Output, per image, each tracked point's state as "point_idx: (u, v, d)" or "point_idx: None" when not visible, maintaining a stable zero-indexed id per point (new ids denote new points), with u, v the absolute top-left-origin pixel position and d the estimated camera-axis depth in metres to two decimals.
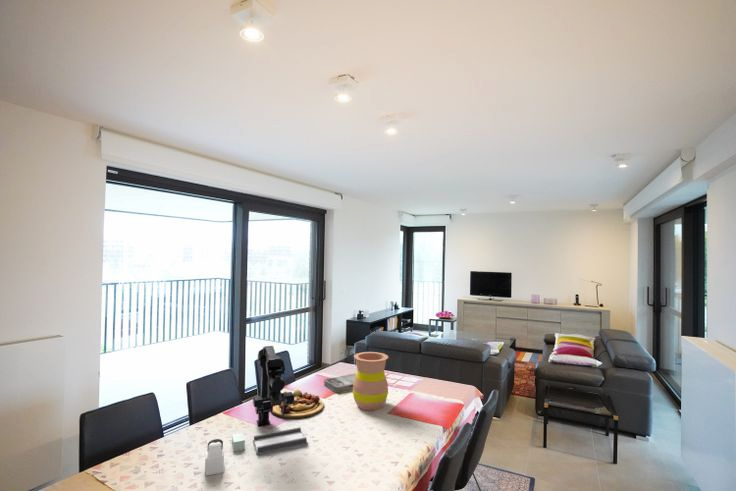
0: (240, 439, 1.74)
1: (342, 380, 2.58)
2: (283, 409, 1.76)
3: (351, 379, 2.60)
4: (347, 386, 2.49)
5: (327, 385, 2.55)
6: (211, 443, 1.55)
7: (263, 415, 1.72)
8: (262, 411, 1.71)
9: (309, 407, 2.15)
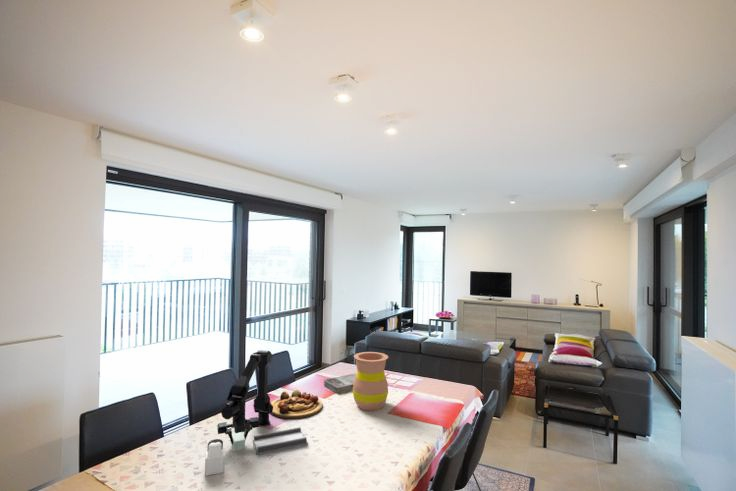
0: (240, 439, 1.74)
1: (342, 380, 2.58)
2: (244, 435, 1.76)
3: (351, 379, 2.60)
4: (347, 386, 2.49)
5: (327, 385, 2.54)
6: (211, 443, 1.55)
7: (232, 440, 1.73)
8: (230, 437, 1.73)
9: (308, 407, 2.15)
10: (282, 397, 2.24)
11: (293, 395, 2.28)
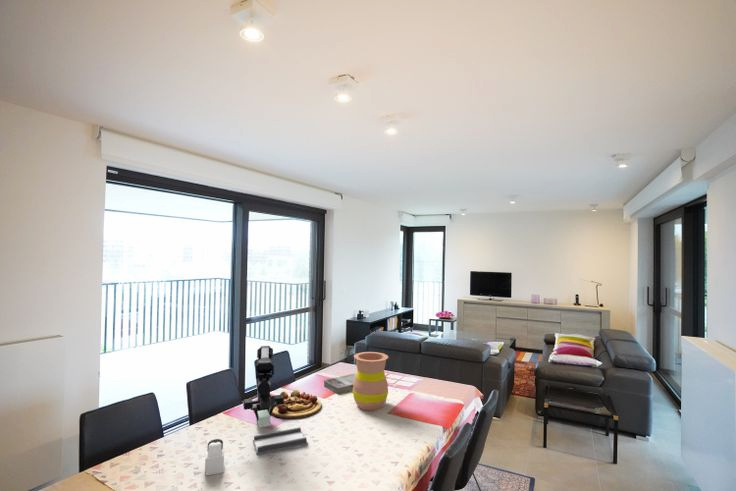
0: (265, 415, 1.76)
1: (342, 380, 2.58)
2: (269, 412, 1.78)
3: (351, 379, 2.60)
4: (348, 386, 2.48)
5: (327, 385, 2.54)
6: (211, 443, 1.55)
7: (257, 417, 1.76)
8: (256, 413, 1.75)
9: (306, 407, 2.15)
10: None
11: (292, 395, 2.28)
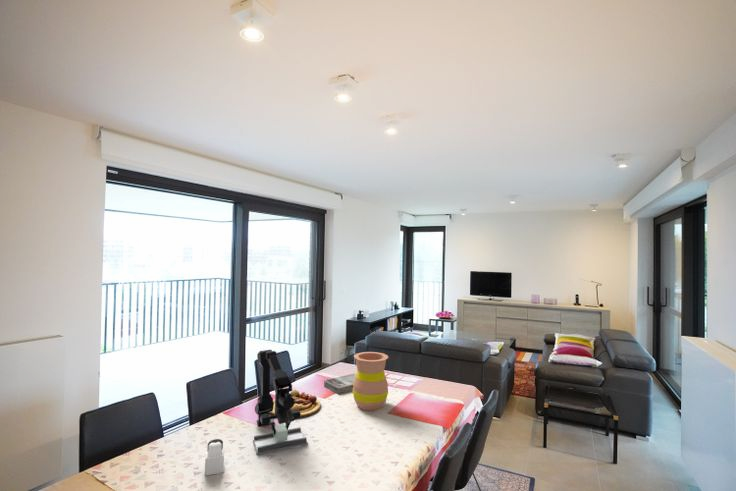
0: (283, 429, 1.77)
1: (342, 380, 2.57)
2: (286, 426, 1.80)
3: (351, 379, 2.59)
4: (348, 386, 2.48)
5: (327, 385, 2.53)
6: (211, 443, 1.55)
7: (274, 431, 1.77)
8: (273, 427, 1.77)
9: (306, 407, 2.15)
10: None
11: (291, 395, 2.28)
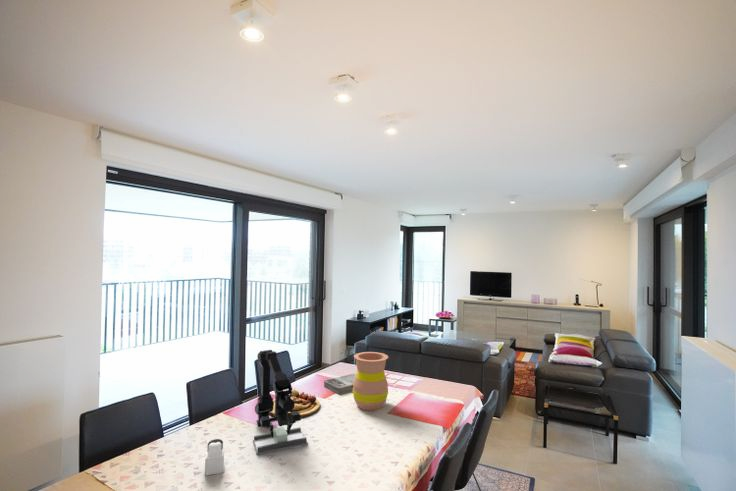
0: (283, 433, 1.77)
1: (342, 380, 2.57)
2: (288, 428, 1.80)
3: (351, 380, 2.59)
4: (348, 387, 2.48)
5: (327, 386, 2.53)
6: (211, 443, 1.55)
7: (272, 434, 1.77)
8: (271, 430, 1.76)
9: (305, 407, 2.15)
10: None
11: (291, 395, 2.28)
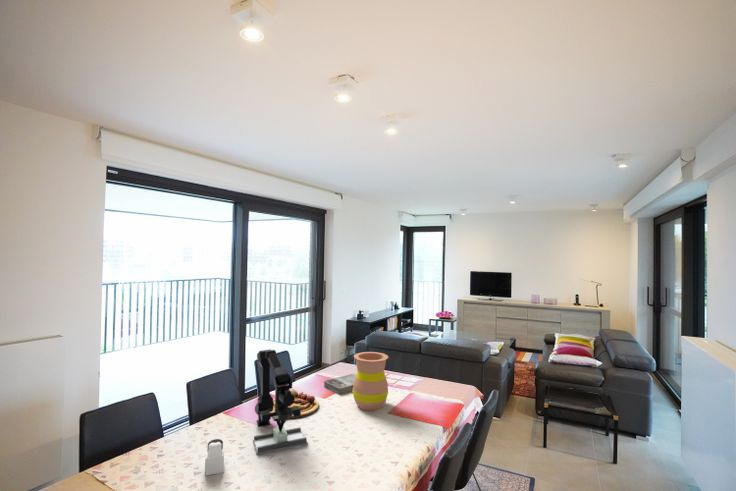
0: (283, 433, 1.77)
1: (342, 381, 2.57)
2: (281, 425, 1.79)
3: (351, 380, 2.59)
4: (349, 387, 2.48)
5: (327, 386, 2.52)
6: (211, 443, 1.55)
7: (280, 427, 1.78)
8: (279, 424, 1.78)
9: (304, 407, 2.15)
10: None
11: None
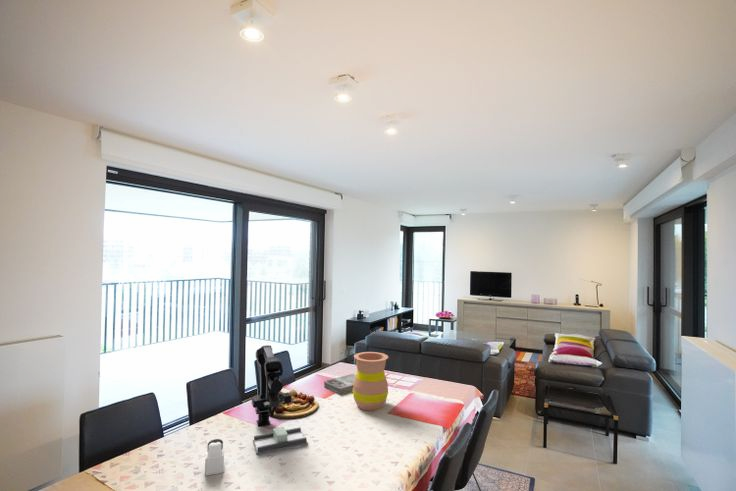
0: (283, 433, 1.77)
1: (342, 381, 2.56)
2: (272, 410, 1.81)
3: (351, 380, 2.59)
4: (349, 387, 2.48)
5: (328, 386, 2.52)
6: (211, 443, 1.55)
7: (271, 413, 1.81)
8: (270, 410, 1.80)
9: (303, 407, 2.15)
10: None
11: None
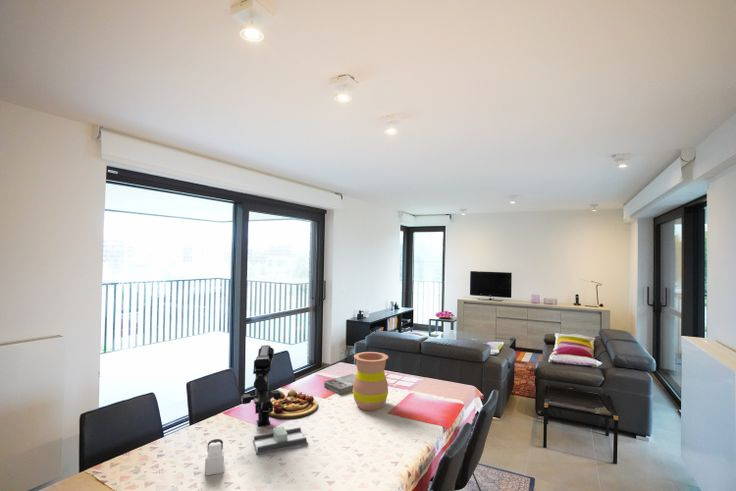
0: (283, 433, 1.77)
1: (342, 381, 2.56)
2: (261, 407, 1.84)
3: (351, 380, 2.59)
4: (350, 387, 2.48)
5: (328, 386, 2.51)
6: (211, 443, 1.55)
7: (260, 410, 1.83)
8: (259, 406, 1.83)
9: (302, 407, 2.15)
10: None
11: (289, 395, 2.28)
